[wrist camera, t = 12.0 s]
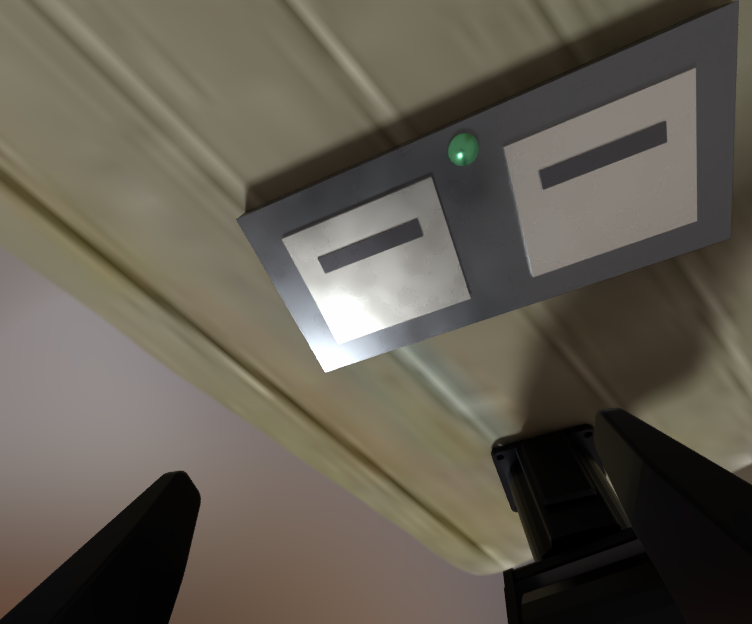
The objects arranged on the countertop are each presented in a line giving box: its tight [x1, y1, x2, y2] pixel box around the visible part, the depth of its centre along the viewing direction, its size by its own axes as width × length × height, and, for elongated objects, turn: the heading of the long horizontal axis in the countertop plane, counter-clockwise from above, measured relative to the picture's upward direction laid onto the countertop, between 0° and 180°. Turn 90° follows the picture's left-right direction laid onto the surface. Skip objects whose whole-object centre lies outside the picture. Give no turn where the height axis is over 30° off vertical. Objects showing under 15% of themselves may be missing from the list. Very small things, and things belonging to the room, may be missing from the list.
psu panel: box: [236, 0, 739, 372], centre depth 17 cm, size 9×20×2 cm, turn 112°
